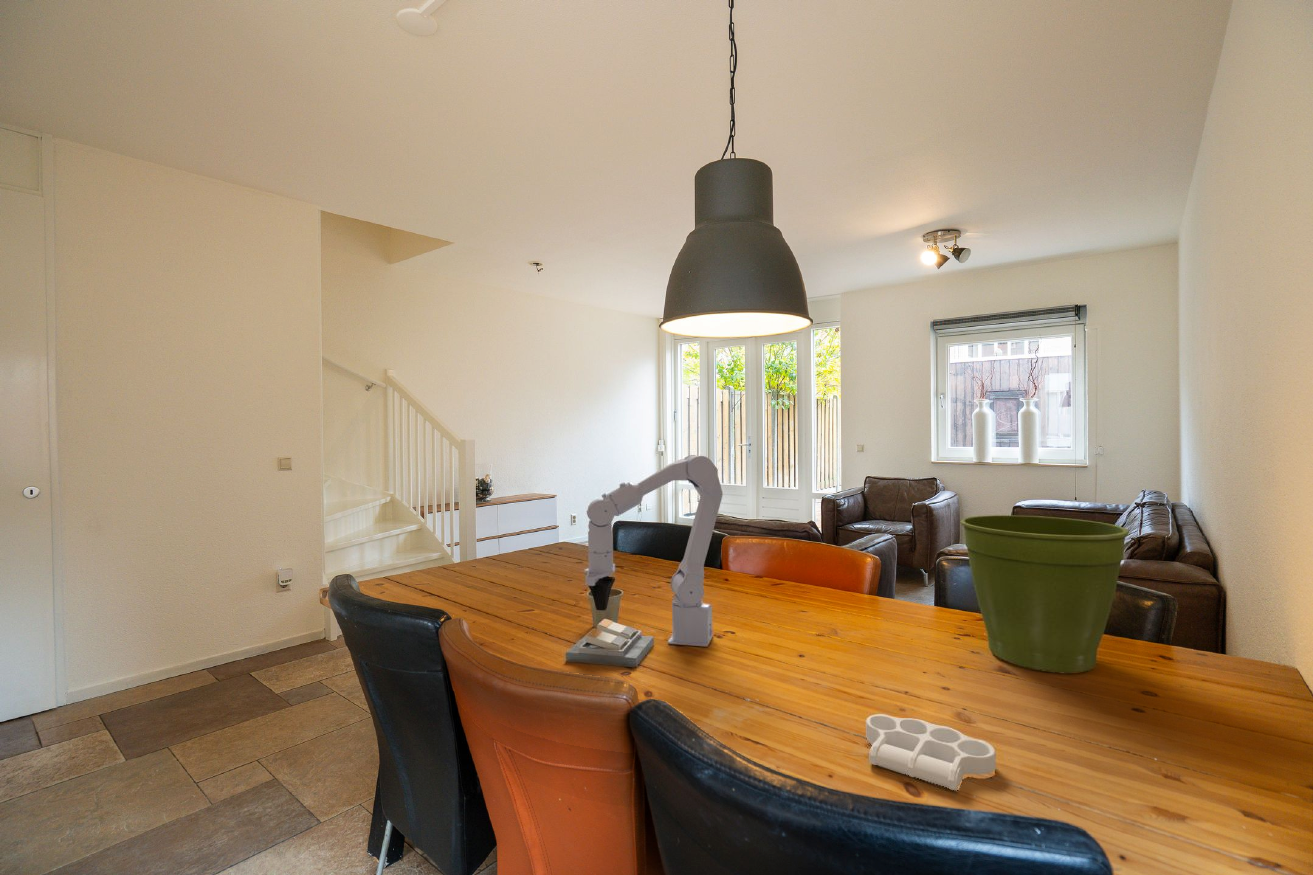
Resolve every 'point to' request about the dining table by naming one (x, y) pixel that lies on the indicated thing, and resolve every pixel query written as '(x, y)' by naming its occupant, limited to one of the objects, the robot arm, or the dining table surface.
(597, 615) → the flower pot
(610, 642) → the breaker
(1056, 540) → the plant pot
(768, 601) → the dining table surface
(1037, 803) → the dining table surface
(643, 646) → the panel
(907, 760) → the knuckle duster
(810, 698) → the dining table surface
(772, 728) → the dining table surface
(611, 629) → the block
